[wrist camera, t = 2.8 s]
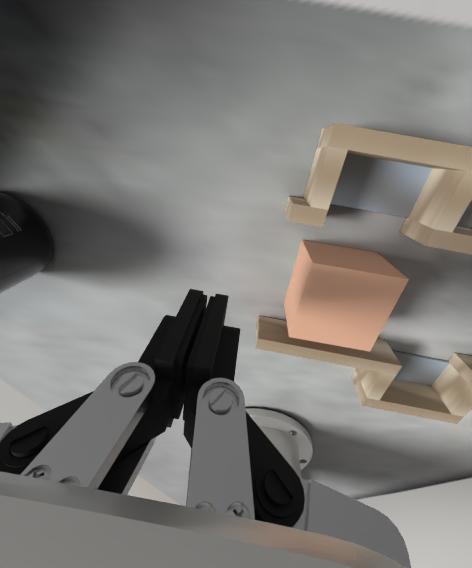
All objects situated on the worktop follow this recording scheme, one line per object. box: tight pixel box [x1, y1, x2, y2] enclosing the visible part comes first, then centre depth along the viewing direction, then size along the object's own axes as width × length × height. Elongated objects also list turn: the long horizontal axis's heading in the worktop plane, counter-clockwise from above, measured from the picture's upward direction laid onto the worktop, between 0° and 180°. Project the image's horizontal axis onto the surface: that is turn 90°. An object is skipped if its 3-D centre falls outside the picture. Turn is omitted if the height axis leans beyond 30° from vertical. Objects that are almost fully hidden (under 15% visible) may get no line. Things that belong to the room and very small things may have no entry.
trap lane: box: [256, 123, 472, 424], centre depth 18 cm, size 19×21×3 cm
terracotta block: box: [284, 240, 409, 351], centre depth 17 cm, size 6×6×4 cm
